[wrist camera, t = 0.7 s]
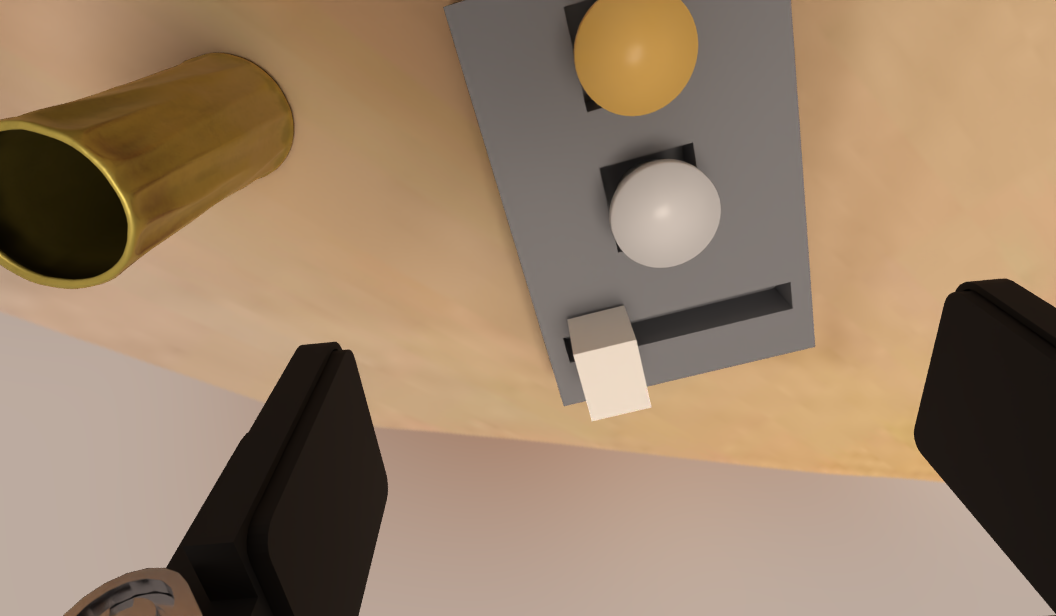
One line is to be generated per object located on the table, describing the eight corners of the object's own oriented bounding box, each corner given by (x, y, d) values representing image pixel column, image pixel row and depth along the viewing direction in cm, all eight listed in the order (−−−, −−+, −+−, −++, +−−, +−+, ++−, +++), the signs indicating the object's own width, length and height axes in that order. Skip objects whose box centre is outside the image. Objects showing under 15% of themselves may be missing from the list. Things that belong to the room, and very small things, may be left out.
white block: (616, 284, 34) (636, 339, 29) (630, 345, 36) (651, 407, 31) (563, 298, 35) (573, 355, 29) (579, 357, 37) (591, 421, 31)
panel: (753, -89, 28) (783, -98, 25) (789, 316, 37) (815, 346, 34) (450, 4, 29) (443, 7, 26) (559, 372, 39) (563, 406, 35)
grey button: (693, 134, 29) (713, 150, 26) (708, 228, 31) (727, 252, 29) (593, 162, 30) (601, 180, 27) (613, 253, 32) (623, 279, 29)
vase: (225, 23, 29) (8, 55, 17) (321, 130, 32) (195, 229, 19) (141, 106, 31) (-115, 192, 18) (238, 202, 33) (70, 337, 20)
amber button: (669, -32, 26) (688, -33, 23) (687, 86, 28) (706, 97, 25) (557, 2, 26) (562, 5, 24) (582, 116, 29) (590, 130, 26)
